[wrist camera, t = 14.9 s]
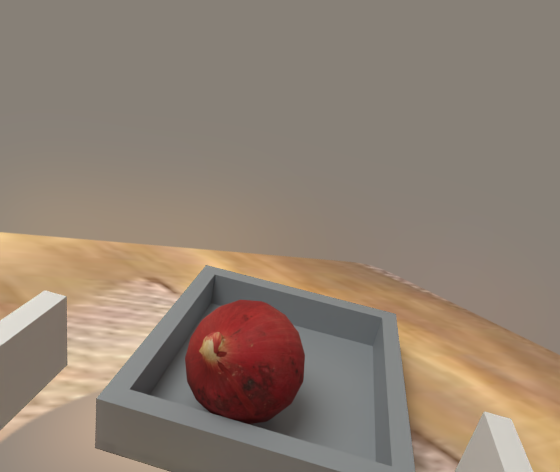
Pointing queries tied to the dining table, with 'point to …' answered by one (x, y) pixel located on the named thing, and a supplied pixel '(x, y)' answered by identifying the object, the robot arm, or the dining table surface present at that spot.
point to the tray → (289, 422)
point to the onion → (245, 362)
